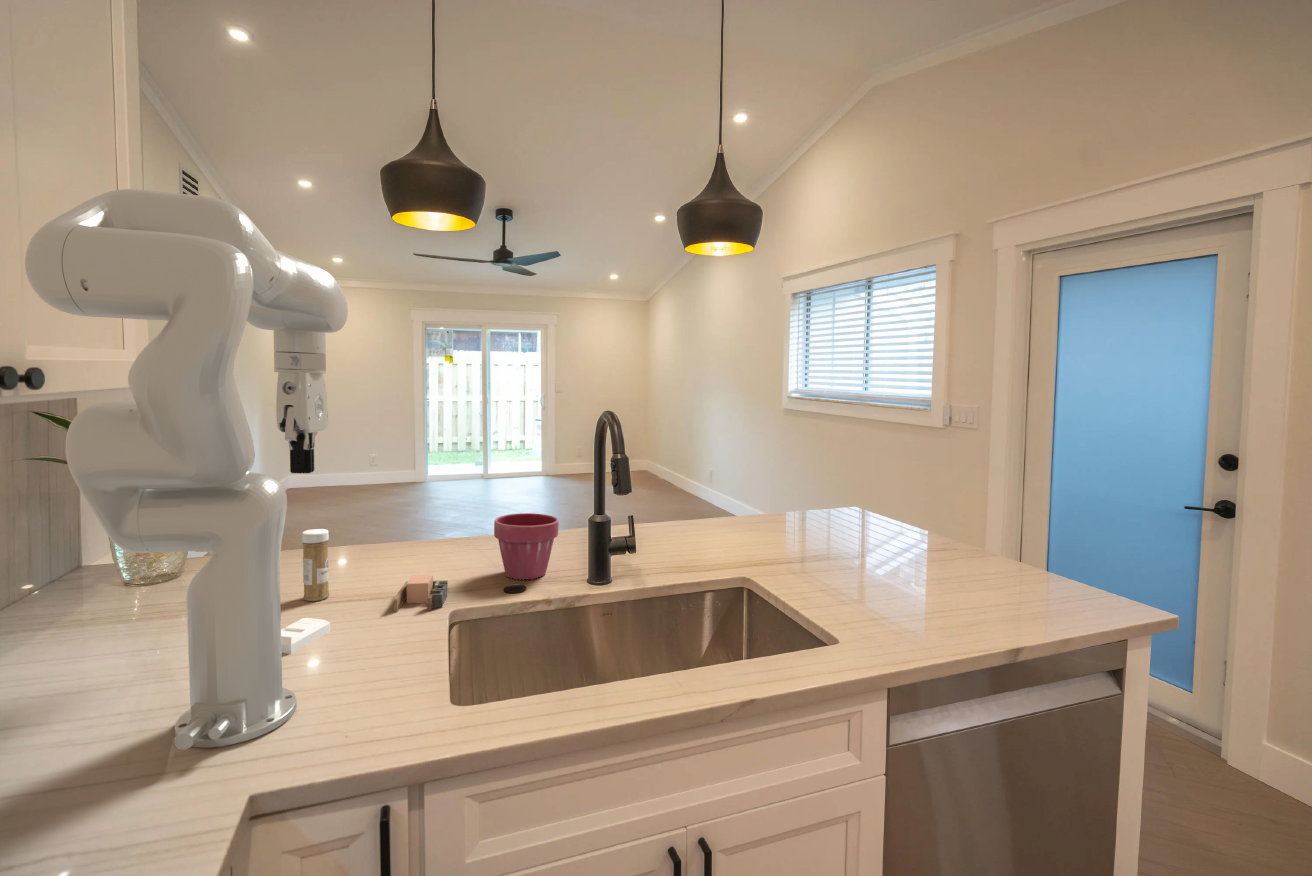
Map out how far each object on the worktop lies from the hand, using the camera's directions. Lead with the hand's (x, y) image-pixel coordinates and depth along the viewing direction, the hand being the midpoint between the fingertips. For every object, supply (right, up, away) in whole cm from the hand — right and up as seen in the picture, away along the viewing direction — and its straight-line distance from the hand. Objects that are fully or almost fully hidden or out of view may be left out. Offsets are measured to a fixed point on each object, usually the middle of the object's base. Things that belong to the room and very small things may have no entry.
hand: (302, 472), depth 102 cm
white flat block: (+1, -28, -3) cm, 28 cm away
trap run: (+14, -26, +15) cm, 34 cm away
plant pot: (+31, -25, +35) cm, 53 cm away
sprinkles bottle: (-6, -26, +16) cm, 31 cm away
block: (+13, -26, +17) cm, 34 cm away
